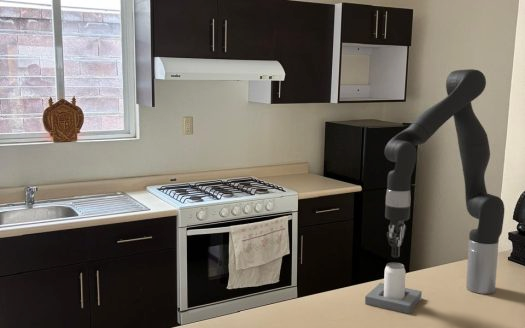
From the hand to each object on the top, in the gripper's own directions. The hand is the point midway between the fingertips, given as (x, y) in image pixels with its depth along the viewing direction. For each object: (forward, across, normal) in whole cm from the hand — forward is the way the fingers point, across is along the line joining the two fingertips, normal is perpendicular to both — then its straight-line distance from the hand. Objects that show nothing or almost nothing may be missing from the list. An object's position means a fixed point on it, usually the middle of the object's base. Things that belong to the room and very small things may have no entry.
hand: (395, 256), depth 169 cm
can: (+15, 0, 0) cm, 15 cm away
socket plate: (+15, 0, 0) cm, 15 cm away
